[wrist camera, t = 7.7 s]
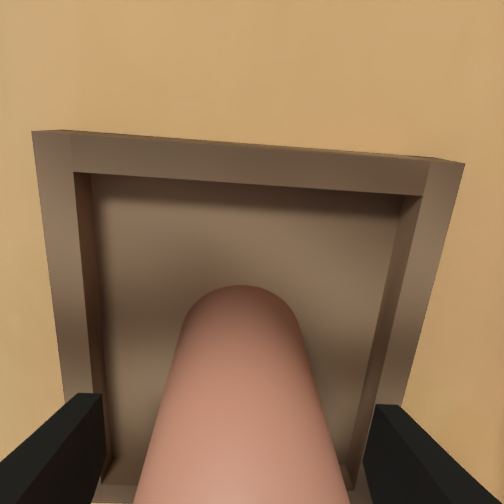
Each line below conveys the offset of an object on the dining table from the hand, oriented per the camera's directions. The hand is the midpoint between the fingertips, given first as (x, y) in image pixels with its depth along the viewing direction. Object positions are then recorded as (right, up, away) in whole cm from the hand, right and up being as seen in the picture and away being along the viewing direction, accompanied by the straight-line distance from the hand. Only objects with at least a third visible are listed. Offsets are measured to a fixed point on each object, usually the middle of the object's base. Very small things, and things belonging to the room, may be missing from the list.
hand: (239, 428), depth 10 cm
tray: (0, +2, +4) cm, 5 cm away
